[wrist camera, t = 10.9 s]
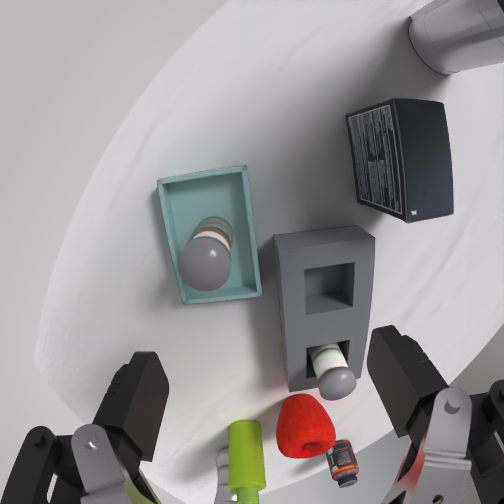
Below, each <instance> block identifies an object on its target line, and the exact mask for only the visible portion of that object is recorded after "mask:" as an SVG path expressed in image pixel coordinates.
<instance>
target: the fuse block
mask: <svg viewBox="0 0 504 504" xmlns="http://www.w3.org/2000/svg"><path fill="white" fill-rule="evenodd" d="M273 241H274V251H275V261H276V272H277V283H278V294H279V305H280V317H281V329H282V342H283V356H284V368H285V374H286V379H287V384H288V389H289V392H295V391H301V390H307V389H313V388H319V391H320V394H321V397H322V398H323V399H326V400H338V399H341V398H344V397H346V396H347V395H349V394H350V393H351V392H352V391H353V390H354V389H355V387H356V384H357V381H356V379H358V378H360V376H361V371H362V366H363V360H364V354H365V348H366V341H367V334H368V327H369V319H370V310H371V301H372V290H373V277H374V260H375V237H373V236H372V235H370V234H369V233H367V232H366V231H364V230H363V229H361V228H360V227H358V226H348V227H339V228H330V229H322V230H313V231H305V232H296V233H288V234H280V235H273Z"/></svg>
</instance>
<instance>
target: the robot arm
mask: <svg viewBox="0 0 504 504" xmlns="http://www.w3.org/2000/svg"><path fill="white" fill-rule="evenodd" d="M411 20H412V21H411V24H410V25H409V36H410V40H411V42H412V45H413V47H414V49H415V50H416V52H417V53H418V55H419V56H420V57H421V59H422V60H423V61H424V62H425V63H426V64H427V65H428V66H429V67H430V68H432V69H433V70H435V71H436V72H439V73H441V74H446V75H447V74H452V73H457V72H460V71H464V70H468V69H473V68H477V67H482V66H487V65H492V64H497V63H502V62H504V0H434V1H432V2H431V3H429V4H427V5H426V6H424V7H423V8H421V9H420V10H418V11H416V12H415V13H413V14H412V15H411ZM367 368H368V372H369V375H370V377H371V379H372V381H373V383H374V385H375V387H376V389H377V392H378V394H379V396H380V398H381V400H382V402H383V405H384V407H385V409H386V411H387V413H388V416H389V418H390V420H391V422H392V425H393V427H394V429H395V431H396V434H397V436H398V438H400V437H402V436H405V435H408V434H409V436H410V439H411V440H410V442H409V444H408V447H407V450H406V454H405V456H404V458H403V461H402V464H401V466H400V469H399V471H398V474H397V476H396V479H395V481H394V483H393V485H392V487H391V489H390V490H389V492H388V493H387V495H386V496H385V498H384V500H383V501H382V503H381V504H462V502H463V499H464V495H465V492H466V488H467V484H468V480H469V475H470V474H471V476H472V479H473V481H474V484H475V487H476V490H477V493H478V496H479V499H480V501H481V504H504V454H503V451H502V449H501V448H500V445H499V443H498V441H497V439H496V437H495V435H494V433H495V432H496V431H497V433H498V435H499V437H500V439H501V441H502V443H503V444H504V380H498V381H496V382H495V383H493V385H492V386H491V388H490V389H489V391H488V392H487V393H481V394H475V395H468V394H467V393H466V392H465V391H463V390H462V389H459V388H453V387H452V388H450V387H449V386H448V385H447V383H446V382H445V380H444V379H443V377H442V376H441V375H440V373H439V372H438V370H437V369H436V367H435V366H434V365H433V363H432V362H431V361H430V360H429V359H428V356H427V355H426V354H425V352H424V353H423V350H422V348H421V347H420V346H419V344H418V343H417V342H416V341H415V340H413V339H412V338H410V337H409V336H407V335H403V336H401V334H400V333H399V332H398V330H397V329H396V328H395V326H393V325H389V326H384V327H380V328H375V329H373V331H372V334H371V340H370V346H369V351H368V356H367ZM168 395H169V382H168V379H167V377H166V374H165V372H164V370H163V367H162V365H161V363H160V360H159V358H158V355H157V354H156V353H155V352H139V351H137V352H135V353H134V354H133V356H132V358H131V361H130V363H129V364H124V365H123V366H122V367H121V368H120V369H119V370H118V371H117V372H116V373H115V375H114V377H113V380H112V382H111V385H110V386H109V388H108V390H107V393H106V394H105V396H104V398H103V401H102V403H101V405H100V407H99V409H98V411H97V414H96V416H95V418H94V420H93V422H92V424H87V425H84V426H82V427H80V428H78V429H77V430H76V431H75V433H74V434H73V435H63V436H55V435H54V434H53V433H52V432H51V431H50V429H48V428H47V427H45V426H37V427H35V428H33V429H32V430H30V431H29V433H28V434H27V436H26V438H25V440H24V443H23V444H22V447H21V449H20V451H19V454H18V456H17V458H16V461H15V463H14V466H13V468H12V471H11V474H10V476H9V479H8V482H7V484H6V487H5V490H4V493H3V496H2V499H1V503H0V504H161V502H160V501H159V499H158V498H157V496H156V494H155V493H154V491H153V490H152V488H151V486H150V485H149V483H148V481H147V479H146V478H145V476H144V474H143V472H142V471H141V469H140V468H139V466H140V462H141V460H142V461H149V462H152V459H153V454H154V450H155V446H156V442H157V438H158V434H159V430H160V426H161V422H162V418H163V414H164V410H165V406H166V402H167V399H168ZM53 473H54V474H55V475H57V476H58V477H57V480H56V484H55V487H54V490H53V493H52V497H51V501H50V503H48V501H47V492H48V489H49V486H50V482H51V479H52V476H53Z"/></svg>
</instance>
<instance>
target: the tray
mask: <svg viewBox="0 0 504 504" xmlns="http://www.w3.org/2000/svg"><path fill="white" fill-rule="evenodd" d="M157 185H158V191H159V197H160V202H161V208H162V213H163V218H164V223H165V228H166V233H167V238H168V243H169V247H170V252H171V256H172V261H173V265H174V269H175V274H176V278H177V282H178V286H179V290H180V294H181V297H182V301H183V305H185V304H196V303H206V302H215V301H225V300H233V299H242V298H250V297H258V296H262V288H261V280H260V272H259V263H258V255H257V247H256V238H255V230H254V222H253V214H252V206H251V198H250V190H249V182H248V174H247V166H246V165H244V166H236V167H228V168H221V169H215V170H208V171H202V172H196V173H190V174H184V175H179V176H173V177H168V178H163V179H160V180H157ZM208 217H220V218H223V219H224V220H226V221H227V222H228V223H229V224H230V225H231V227H232V229H233V233H234V239H233V245H232V248H231V253H230V255H231V271H230V275H229V278H228V280H227V281H226V283H225V284H224V285H222V286H221V287H220V288H218V289H216V290H213V291H198V290H195V289H193V288H191V287H189V286H188V285H187V284H186V283H185V282H184V281H183V280H182V278H181V277H180V274H179V272H178V259H179V256H180V254H181V252H182V251H183V249H184V247H185V246H186V244H187V243H188V242H189V241H191V239H192V237H193V235H194V232H195V229H196V228H197V226H198V225H199V223H200V222H201V221H202V220H204V219H206V218H208Z"/></svg>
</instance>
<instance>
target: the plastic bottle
mask: <svg viewBox="0 0 504 504" xmlns="http://www.w3.org/2000/svg"><path fill="white" fill-rule="evenodd" d="M216 466H217V475H218V484H217V485H218V486H217V493H216V497H215V501H214V504H237V498H236V491H233V490H231V489H229V487H228V469H229V448H224V449H222V450H220V451H219V452H218V453H217V456H216Z"/></svg>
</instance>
